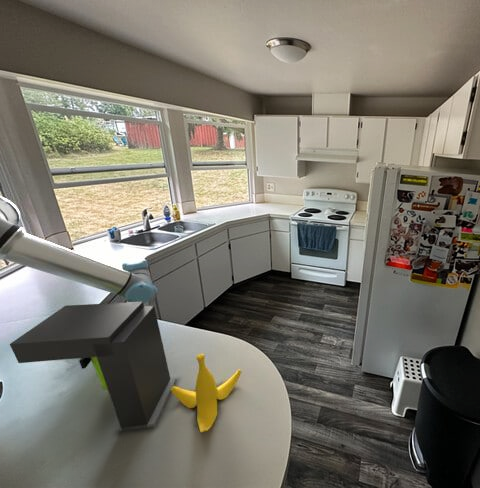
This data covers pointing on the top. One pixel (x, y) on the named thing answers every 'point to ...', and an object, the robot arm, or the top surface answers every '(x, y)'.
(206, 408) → the banana peel
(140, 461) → the top surface
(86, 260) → the robot arm
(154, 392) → the coffee maker
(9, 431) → the top surface
